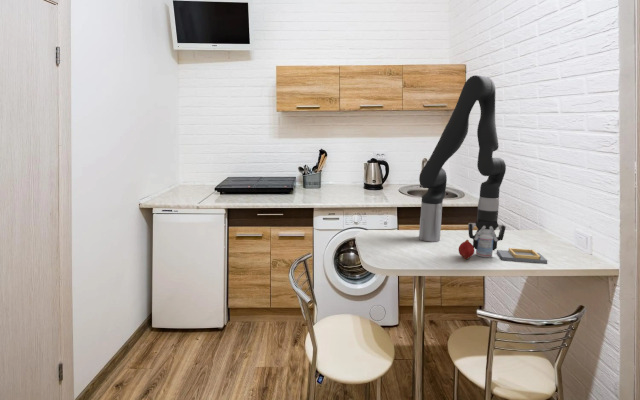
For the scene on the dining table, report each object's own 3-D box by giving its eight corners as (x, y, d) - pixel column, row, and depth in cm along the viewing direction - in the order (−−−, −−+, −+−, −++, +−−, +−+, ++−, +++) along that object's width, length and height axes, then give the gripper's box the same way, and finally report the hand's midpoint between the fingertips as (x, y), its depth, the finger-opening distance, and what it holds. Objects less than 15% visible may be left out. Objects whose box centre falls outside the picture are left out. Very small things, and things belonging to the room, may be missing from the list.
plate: (502, 260, 156) (502, 254, 155) (496, 252, 166) (497, 247, 165) (547, 263, 153) (547, 257, 152) (538, 255, 162) (539, 249, 162)
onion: (455, 257, 159) (456, 237, 157) (469, 256, 159) (471, 237, 158) (461, 261, 153) (463, 241, 152) (476, 261, 154) (477, 241, 152)
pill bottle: (479, 252, 166) (482, 225, 164) (494, 255, 161) (497, 228, 159) (473, 255, 162) (475, 228, 160) (487, 258, 157) (490, 231, 155)
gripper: (470, 209, 156) (467, 250, 159) (510, 211, 153) (505, 253, 156) (467, 205, 163) (464, 245, 166) (505, 207, 160) (501, 248, 163)
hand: (484, 249), depth 161 cm, fingers closed on pill bottle, 6 cm apart
